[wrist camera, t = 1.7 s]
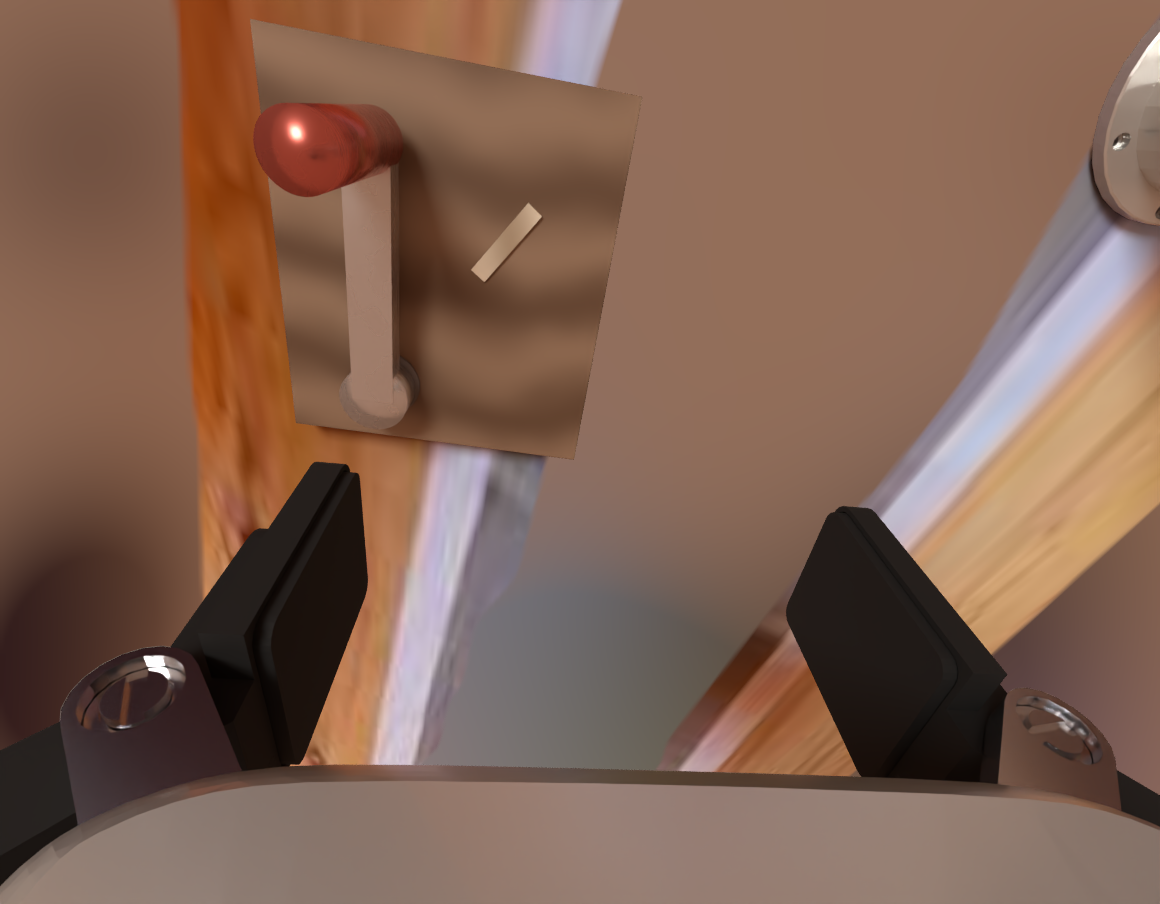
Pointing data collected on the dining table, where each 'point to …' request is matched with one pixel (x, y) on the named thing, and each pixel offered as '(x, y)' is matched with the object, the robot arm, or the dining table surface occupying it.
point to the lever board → (459, 239)
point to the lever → (352, 233)
